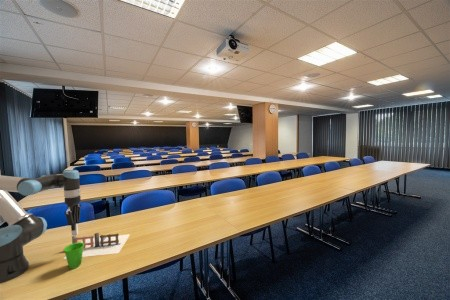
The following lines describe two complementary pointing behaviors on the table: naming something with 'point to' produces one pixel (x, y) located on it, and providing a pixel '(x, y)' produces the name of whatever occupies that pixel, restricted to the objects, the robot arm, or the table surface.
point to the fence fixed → (105, 241)
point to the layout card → (104, 246)
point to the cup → (74, 254)
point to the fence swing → (75, 240)
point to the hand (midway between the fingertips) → (75, 234)
